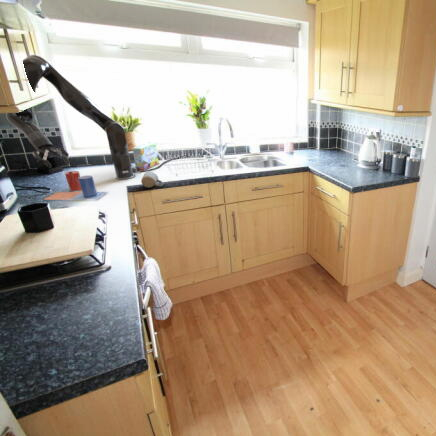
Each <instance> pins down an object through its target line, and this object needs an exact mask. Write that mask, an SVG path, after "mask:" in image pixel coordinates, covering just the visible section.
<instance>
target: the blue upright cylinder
mask: <svg viewBox="0 0 436 436" xmlns="http://www.w3.org/2000/svg"><path fill="white" fill-rule="evenodd" d="M78 180H79V183H80V186H81V190H80V191H81V192H82V193H83V197H85V198H90V197H95V196H97V192H98V191H97V187H96V183H95V180H94V176H93V175H80V177H78Z"/></svg>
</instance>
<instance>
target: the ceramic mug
mask: <svg viewBox="0 0 436 436" xmlns="http://www.w3.org/2000/svg"><path fill="white" fill-rule="evenodd" d="M140 182H141V185H142V186H143V187H144V188H147V189H151V188H154V187H163V186H164V181H162V180H160V179H159V177H158V175H157V174H156V173H155V172H153V171H146V172H144V174H143V176H141V181H140Z"/></svg>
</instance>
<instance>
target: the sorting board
mask: <svg viewBox="0 0 436 436" xmlns="http://www.w3.org/2000/svg"><path fill="white" fill-rule="evenodd" d="M105 193H107V191H97V196H95V197H90V198H85V197H83V193H82V191H67V192H66V191H63V192H62V191H61V192H60V191H59V192H57V191H56V192H55V193H53V194H51V195H48V197H46V198H44V199H43V200H44V201H50V200H51V201H53V200H54V201H55V200H57V201H58V200H97V199H99V198H100V197H102V196H104V194H105Z"/></svg>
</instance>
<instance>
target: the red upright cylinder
mask: <svg viewBox="0 0 436 436" xmlns="http://www.w3.org/2000/svg"><path fill="white" fill-rule="evenodd" d="M64 175H65V179H66V182H67V185H68V188H69V192H80V191H82V190H81V186H80V183H79V180H78V177H81V174H80V171H78V170H70V171H65V173H64Z"/></svg>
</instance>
